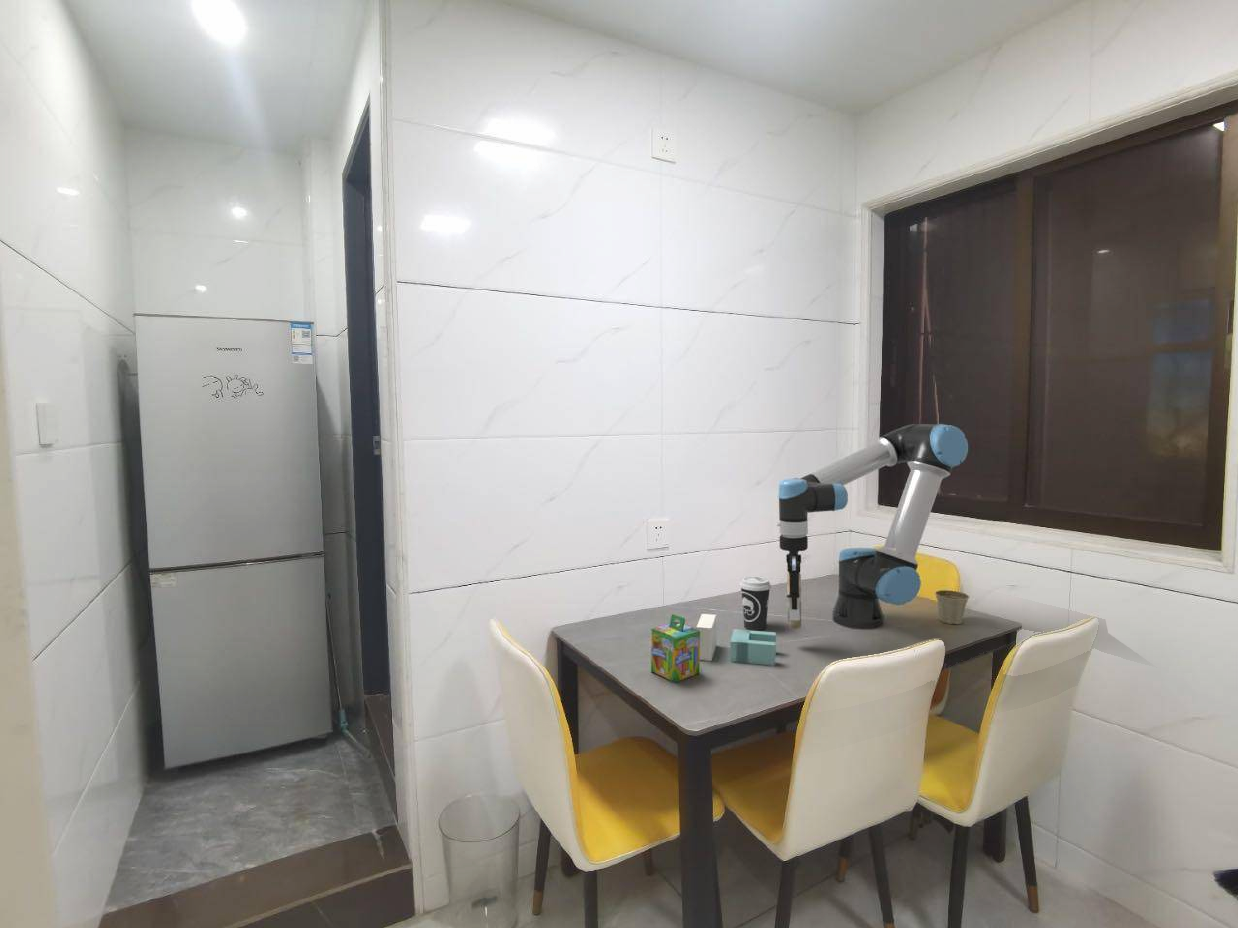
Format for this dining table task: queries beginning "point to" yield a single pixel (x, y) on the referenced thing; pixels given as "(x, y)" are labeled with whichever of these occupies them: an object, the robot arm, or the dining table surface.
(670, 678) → the chalk box
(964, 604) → the flower pot
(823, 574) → the dining table surface
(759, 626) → the coffee cup
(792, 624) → the dowel
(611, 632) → the dining table surface
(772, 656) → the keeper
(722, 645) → the dining table surface
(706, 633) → the wall
